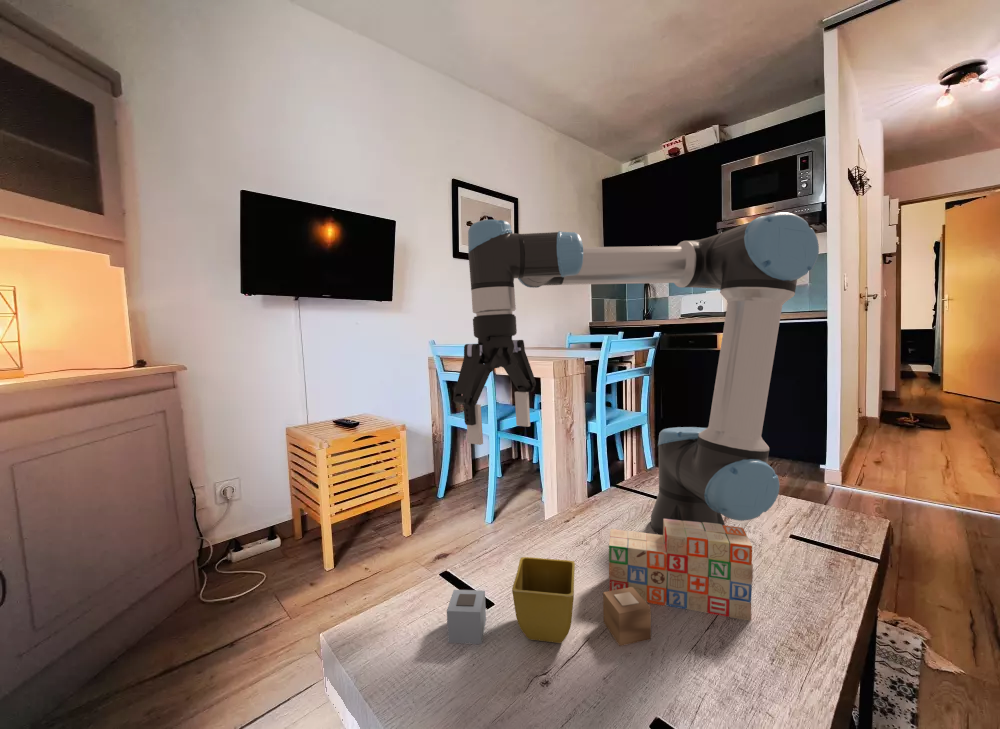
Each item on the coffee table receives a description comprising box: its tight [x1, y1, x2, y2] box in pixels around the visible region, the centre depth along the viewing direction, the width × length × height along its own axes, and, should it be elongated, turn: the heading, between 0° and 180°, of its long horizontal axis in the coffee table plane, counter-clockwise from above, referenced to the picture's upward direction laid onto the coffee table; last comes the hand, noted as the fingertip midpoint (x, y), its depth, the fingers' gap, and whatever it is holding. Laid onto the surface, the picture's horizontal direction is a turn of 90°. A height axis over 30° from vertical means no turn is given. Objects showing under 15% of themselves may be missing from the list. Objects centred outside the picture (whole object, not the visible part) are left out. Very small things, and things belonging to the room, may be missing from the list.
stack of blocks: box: [608, 519, 754, 621], centre depth 69 cm, size 21×6×12 cm, turn 71°
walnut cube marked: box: [602, 587, 652, 647], centre depth 61 cm, size 5×5×5 cm
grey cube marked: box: [446, 589, 487, 645], centre depth 62 cm, size 5×5×5 cm
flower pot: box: [511, 556, 576, 644], centre depth 62 cm, size 9×9×9 cm
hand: (501, 434), depth 73 cm, fingers open, 13 cm apart
